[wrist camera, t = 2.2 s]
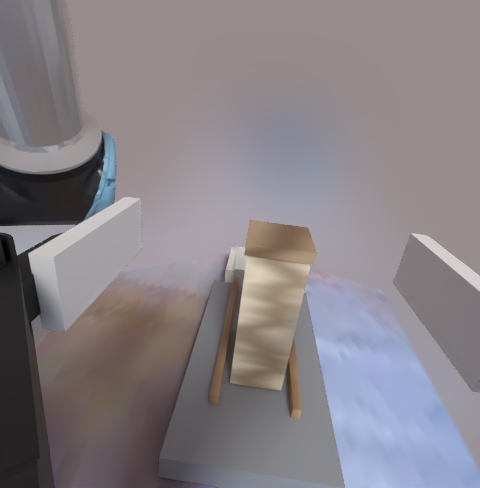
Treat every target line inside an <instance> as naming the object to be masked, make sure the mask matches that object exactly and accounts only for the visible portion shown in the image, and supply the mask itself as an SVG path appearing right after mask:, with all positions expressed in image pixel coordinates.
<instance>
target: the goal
mask: <svg viewBox="0 0 480 488" xmlns="http://www.w3.org/2000/svg"><path fill="white" fill-rule="evenodd" d="M244 254H245V248H243V247H236V246H232V248H231V252H230V256H229V260H228V263H227V267H226V273H225V282H229V283H233V280H234V276H235V277H239V284H243V281H244V273H245V266H246V259H247V255H244Z"/></svg>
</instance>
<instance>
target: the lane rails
mask: <svg viewBox="0 0 480 488" xmlns="http://www.w3.org/2000/svg"><path fill="white" fill-rule="evenodd" d="M238 284H239V277H235V276H234V280H233V284H232V289H231V294H230V299H229V304H228V309H227V314H226V318H225V323H224V328H223V333H222V338H221V343H220V348H219V352H218V357H217V362H216V367H215V372H214V377H213V382H212V386H211V391H210V397H209V405H214V406H218V400H219V395H220V389H221V383H222V377H223V371H224V366H225V360H226V354H227V348H228V342H229V336H230V331H231V325H232V319H233V313H234V307H235V302H236V296H237V290H238ZM287 373H288V387H289V401H290V415H291V418H298V419H300V416H301V412H302V403H301V394H300V385H299V376H298V367H297V359H296V350H295V341H294V338H293V342H292V346H291V351H290V355H289V359H288V363H287Z"/></svg>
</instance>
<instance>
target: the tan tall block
mask: <svg viewBox="0 0 480 488" xmlns="http://www.w3.org/2000/svg"><path fill="white" fill-rule="evenodd" d="M316 254H317V253H316V250H315V247H314V244H313V241H312V238H311V235H310V232H309V229H308V228H306V227H298V226H291V225H283V224H276V223H269V222H261V221H254V220H250V223H249V228H248V234H247V240H246V246H245V254H244V255H247V259H246V266H245V273H244V281H243V288H242V296H241V303H240V311H239V318H238V326H237V333H236V340H235V348H234V355H233V363H232V370H231V378H230V383H233V384H240V385H246V386H253V387H259V388H266V389H272V390H279V391H281V389H282V385H283V380H284V376H285V372H286V368H287V363H288V359H289V355H290V351H291V346H292V342H293V338H294V334H295V329H296V325H297V321H298V317H299V312H300V308H301V304H302V299H303V295H304V291H305V287H306V282H307V278H308V274H309V270H310V265H311V264H313V265H314V262H315V258H316Z"/></svg>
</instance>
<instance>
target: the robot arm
mask: <svg viewBox="0 0 480 488" xmlns="http://www.w3.org/2000/svg"><path fill="white" fill-rule="evenodd" d="M115 178H116V148H115V141H114V138H113V137H112V136H111V135H110V134H108V133H105V132H103V131H101V129H100V126H99V124H98V122H97V120H96V118H95V117H94V116H93V115H92V114H91V113H90V112H89V111H88V110H87V109H86V108H84V107H83V103H82V96H81V89H80V82H79V75H78V67H77V61H76V54H75V46H74V39H73V32H72V25H71V17H70V10H69V3H68V0H0V226H17V225H68V224H69V225H70V224H75V225H76V226H75V227H73V228H71V229H70V230H68V231H66V232H64V233H60V234H57V235H54V236H51V237H49V238H48V239H46V240H44V241H43V242H42V243H39V244H37V245H35V247H32V248H30V249H28V250H27V251H25V252H23V253H21V254H20V255H18V256H17V254H16V250H15V245H14V240H13V237H12V236H11V235H9V234H6V233H0V488H54V480H53V473H52V466H51V459H50V452H49V444H48V437H47V430H46V423H45V416H44V408H43V401H42V394H41V387H40V380H39V372H38V365H37V358H36V351H35V344H34V336H33V330H32V325H31V321H32V320H33V319H35V318H36V317H37V316H38V315H39V314H40V317H41V323H42V328H43V329H48V330H55V331H61V332H66V331H67V330H68V329H69V328H70V326H71V325H72V324H73V323H74V322H75V321H76V320H77V319H78V318H79V317H80V316H81V315H82V314H83V312H84V311H85V310H86V309H87V308H88V307H89V306H90V305H91V304H92V303H93V302H94V301H95V300H96V298H97V297H98V296H99V295H100V294H101V293H102V292H103V291H104V290H105V289H106V288H107V287H108V286H109V284H110V283H111V282H112V281H113V280H114V279H115V278H116V277H117V276H118V275H119V274H120V273H121V272H122V270H123V269H124V268H125V267H126V266H127V265H128V264H129V263H130V262H131V261H132V259H134V258H135V256H136V255H137V254H138V253H139V252H140V251H141V250H142V222H141V199H140V198H132V197H124V198H123V199H121V200H119V201H117V202H116V203H114V199H115V180H116V179H115ZM393 284H394V285H395V287H396V288H397V289H398V290H399V292H400V293H401V295H402V296H403V297H404V299H405V300H406V301H407V303H408V304H409V306H410V307H411V308H412V310H413V311H414V312H415V314H416V315H417V316H418V318H419V319H420V321H421V322H422V323H423V325H424V326H425V327H426V329H427V330H428V332H429V333H430V334H431V335H432V337H433V338H434V340H435V341H436V342H437V344H438V345H439V346H440V348H441V349H442V350H443V352H444V353H445V355H446V356H447V357H448V359H449V360H450V362H451V363H452V364H453V366H454V367H455V368H456V370H457V371H458V372H459V374H460V375H461V377H462V378H463V379H464V381H465V382H466V383H467V385H468V386H469V387H470V389H471V390H472V391H473V392H478V393H480V276H479V275H478V274H477V273H475V272H474V271H473V270H471V269H470V268H469V267H467V266H466V265H465V264H464V263H462V262H461V261H460V260H458V259H457V258H456V257H454V256H453V255H452V254H450V253H449V252H448V251H447V250H445V249H444V248H443V247H441V246H440V245H439V244H438V243H436V242H435V241H434V240H432V239H431V238H430V237H428V236H427V235H420V234H412V233H411V234H410V237H409V240H408V242H407V246H406V248H405V251H404V254H403V256H402V259H401V262H400V265H399V268H398V270H397V273H396V276H395V279H394V282H393Z"/></svg>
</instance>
